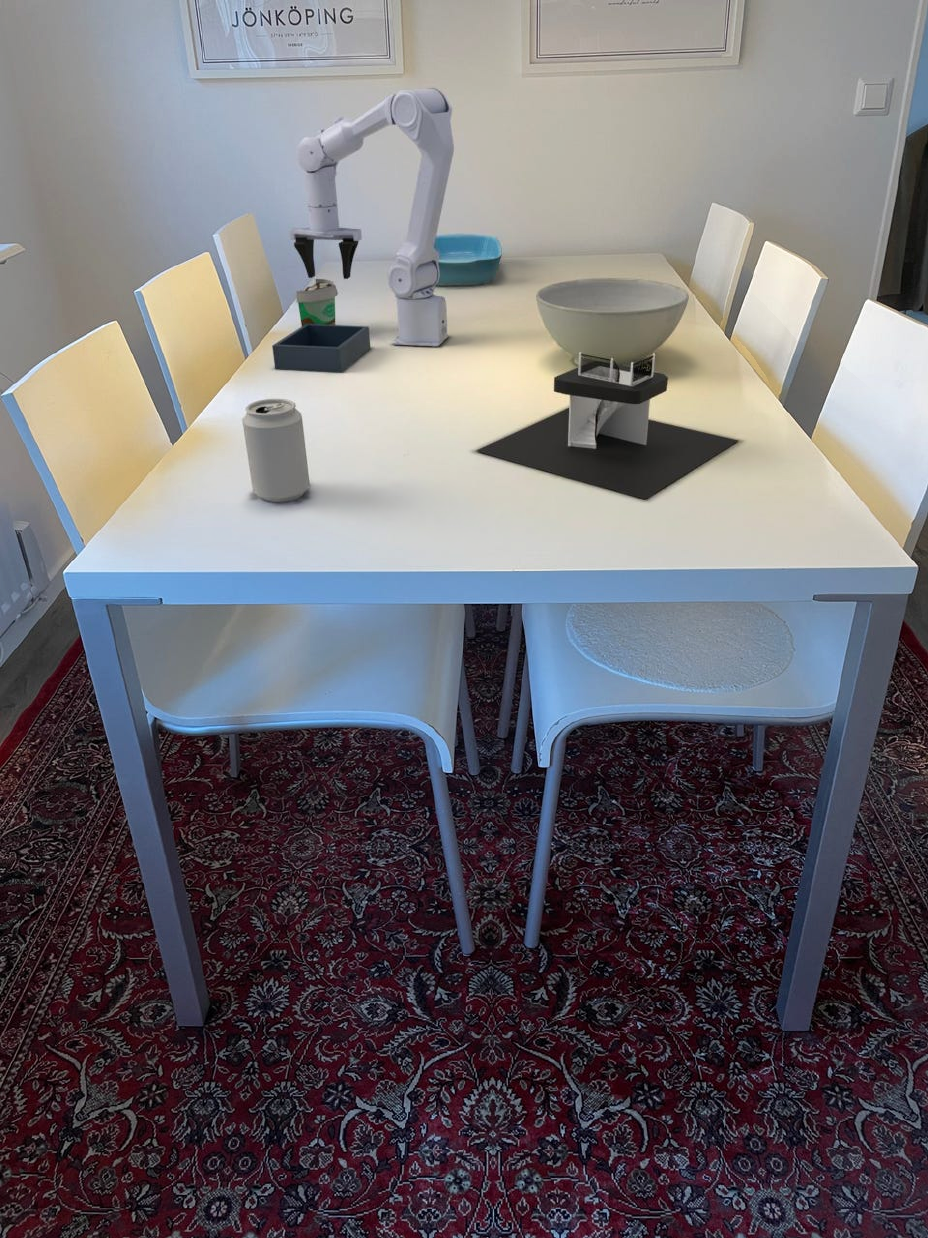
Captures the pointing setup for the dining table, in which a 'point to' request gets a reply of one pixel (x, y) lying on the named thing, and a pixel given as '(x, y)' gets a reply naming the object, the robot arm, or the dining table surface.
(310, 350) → the tote
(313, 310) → the food container
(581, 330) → the decorative bowl
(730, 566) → the dining table surface
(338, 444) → the dining table surface
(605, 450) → the black-topped pedestal
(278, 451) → the can
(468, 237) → the casserole dish
